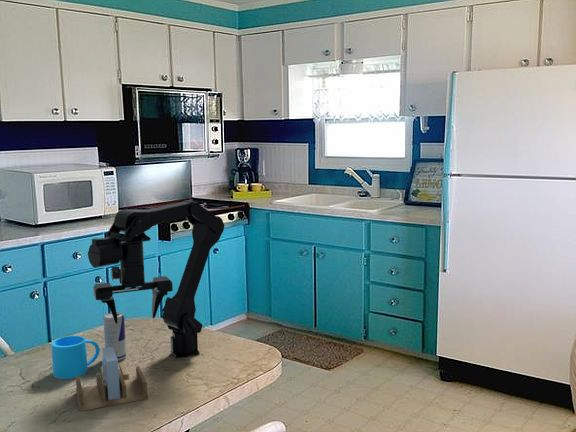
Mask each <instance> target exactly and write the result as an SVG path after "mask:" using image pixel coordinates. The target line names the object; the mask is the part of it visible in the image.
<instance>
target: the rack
mask: <svg viewBox="0 0 576 432" xmlns="http://www.w3.org/2000/svg"><path fill="white" fill-rule="evenodd" d="M118 370H119V388H120V398H118V399H113V400H108V397H107V394H106V390H105V387H104V382H103V378H102V375H101V372H96V374H95V375H96V385H90V386H85V387H83V386H82V382H81V378H80V376H76V377H75V385H76V386H75V387H76V389H75V392H76V398H77V405H78V410H79V412H83V411H87V410H88V411H89V410H92V409H99V408H105V407H110V406H114V405H120V404H126V403H131V402H138V401H143V400H146V399H148V398H149V394H148V382H147V380H146V377H145V375H144V373H143V370H142V369H141V367H140V365H138V366H135V377H136V378H129V380H124V379H123V376H122V374H121V371H120V369H119V368H118Z"/></svg>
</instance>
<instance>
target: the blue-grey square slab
mask: <svg viewBox="0 0 576 432" xmlns="http://www.w3.org/2000/svg"><path fill="white" fill-rule="evenodd" d="M101 360H102V362H101V363H102V366H103V378H102V381H103V380H104V382H103V384H104V387H105V390H106V394H107V397H108V400H113V399H118V398H120V388H119V370H118V369H119V361H118V359H117V356H116V354H115V351H114V349H113V347H107V348H105V347H102V348H101Z"/></svg>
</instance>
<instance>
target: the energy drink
mask: <svg viewBox="0 0 576 432" xmlns="http://www.w3.org/2000/svg"><path fill="white" fill-rule="evenodd" d="M116 313H117V324H116V323H115V321H114V318H113V316H112V313H111V312H109V313H106V314H103V315H104V317H103V319H102V320H103V331H104V332H103V334H104V338H103V339H104V348H107V347H113V349H114V351H115V354H116V356H117V359H118V362H120V361H123V360H124V359H126V357H127V346H126V345H127V343H126V327H125V326H126V325H125V323H126V322H125V316H124V313H123V312H118V311H116Z"/></svg>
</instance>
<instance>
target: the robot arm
mask: <svg viewBox="0 0 576 432" xmlns="http://www.w3.org/2000/svg"><path fill="white" fill-rule="evenodd" d="M184 218H186V220H187V222H188V223H189V224H190V225H191V226H192V230H191V233H192V242H193V243H192V246H191V251H190V253H189V256H188V259H187V262H186V265H185V268H184V271H183V274H182V276H181V279H180V283H179V285H178V288H177V291H176V292H175V294H174V295H173V296H172V297H168V296H167V295H168V294H169V292H173V290H174V287H173V286H174V285H173V281H172V280H171V279H170V278H169V277H168V276H166V275H164V276H156V277H152V281H147V282H146V280H145V279H146V278H145V260H144V259H145V258H144V242H149V241H151V237H150V236H148V235H147V234H146V233H145V232H147V231H149V230H150V229H151V228H153V227H155V226H156V225H160V224H164V223H168V222H172V221H175V220H180V219H184ZM224 231H225V223H224V221H223V219H222V217H220V216H219V215H215V214H214V212H212V211H209V210H208V209H206V208H205V207H203V206H202V205H201V204H200V203H199V202H197V201H195V200H187V199H186V200H183V201H179V202H175V203H171V204H167V205H163V206H158V207H154V208H149V209H121V210H119V211H118V212H116V214H115V217H114V220H113V223H112V224H111V226H110V228H109V230H108V231H107V233H106V234H105V237H101V238H99V237H96V238H92V239H91V244H90V245H89V248H88V251H87V258H88V261H89V264H90V265H91V267H93V268H95V269H97V268H103V267H106V266H111V265H116V264H119V266H118V265H116V266H111V268H110V269H111V271H110V273H111V280H114V281H115V280H119V285H111V283H110V282H101V283H95V284H94V285H93V287H92V288H93V296H94V298H95V301H100V302H101V303H102V304H107V307H108V308H109V310H110V313H112V316H113V318H114V321H115V323H116V324H117V313H116V312H117V307H116V303H115V301H116V300H115V298H114V296H113V295H114V294H121V293H123V294H124V293H129V292H130V293H131V292H140V291H147V290H151V292H152V293H151V294H152V299H151V300H152V304H151V317H152V319H153V320H154V319H155V318H156V316H157V312H158V309H159V307H160V304H161V303H162V301H163V298H164V297H165V296H167V297H166V299H165V301H164V302H165V304H164V306H163V307H162V310H161V312H162V320H163V323H164V324H165V325H166V326H167V328H168V330H170V331H171V332H172V334H171V335H172V336H170V351H171V353H172V354H173V356H175V358H185V357H189V356H196V355H198V356H199V355H200V353H201V352H200V351H199V349H198V345H199V343H198V334H200V333H201V332H202V330H203V329H202V328H203V323H201V322H200V321H199V320H198V319H196V318H195V316H196V311H197V309H196V302H195V298H196V295H197V291H198V288H199V285H200V282H201V280H202V279H201V278H202V276H203V272H204V270H205V267H206V264H207V261H208V259H209V254H210V252H211V249H212V248H213V247H214V246H215V245H216V244H217V243H218V242H219V241H220V240H221V236H222V235H223V232H224Z"/></svg>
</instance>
